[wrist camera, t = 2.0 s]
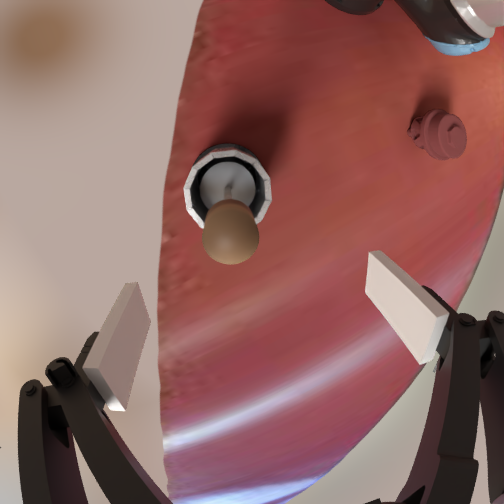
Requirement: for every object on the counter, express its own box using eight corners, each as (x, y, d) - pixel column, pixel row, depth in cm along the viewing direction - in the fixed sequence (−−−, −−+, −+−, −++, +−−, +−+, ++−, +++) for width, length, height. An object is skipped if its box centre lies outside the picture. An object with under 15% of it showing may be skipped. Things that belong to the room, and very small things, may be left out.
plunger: (197, 165, 39) (171, 194, 20) (252, 159, 39) (279, 181, 20) (204, 217, 42) (188, 288, 23) (256, 211, 42) (283, 277, 24)
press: (186, 148, 46) (173, 152, 34) (260, 140, 46) (272, 141, 35) (197, 232, 52) (190, 260, 40) (267, 224, 53) (279, 250, 41)
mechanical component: (419, 101, 44) (440, 138, 48) (392, 126, 47) (416, 164, 50) (457, 99, 33) (479, 144, 37) (430, 128, 35) (454, 174, 39)
